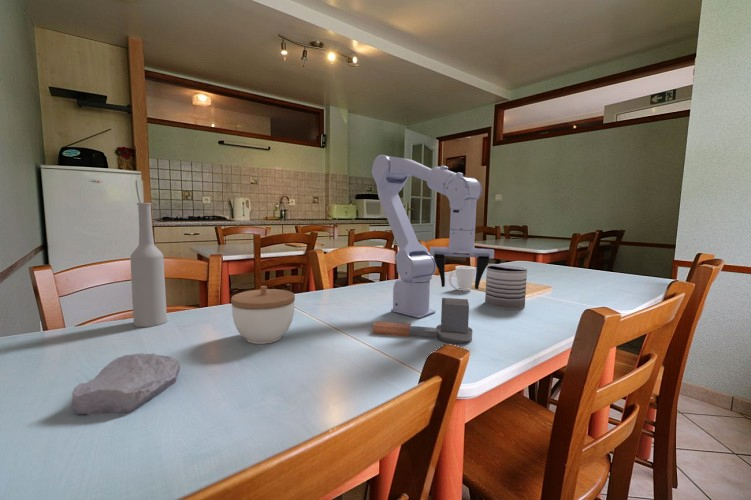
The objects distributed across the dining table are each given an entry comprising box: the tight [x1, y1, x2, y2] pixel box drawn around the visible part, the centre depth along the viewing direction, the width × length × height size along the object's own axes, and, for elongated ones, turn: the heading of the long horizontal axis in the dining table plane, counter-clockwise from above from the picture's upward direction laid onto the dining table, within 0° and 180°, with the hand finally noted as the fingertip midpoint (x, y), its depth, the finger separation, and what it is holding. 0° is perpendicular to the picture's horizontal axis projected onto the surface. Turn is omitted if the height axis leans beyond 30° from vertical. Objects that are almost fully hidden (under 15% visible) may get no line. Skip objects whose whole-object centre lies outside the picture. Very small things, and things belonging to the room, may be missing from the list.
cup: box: [448, 265, 476, 292], centre depth 123 cm, size 7×10×8 cm
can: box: [484, 263, 528, 310], centre depth 104 cm, size 11×11×12 cm
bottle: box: [129, 202, 168, 328], centre depth 81 cm, size 7×7×28 cm
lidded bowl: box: [230, 285, 296, 345], centre depth 73 cm, size 13×13×11 cm
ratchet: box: [372, 320, 473, 345], centre depth 76 cm, size 21×8×4 cm, turn 78°
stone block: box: [70, 352, 181, 416], centre depth 51 cm, size 12×5×10 cm
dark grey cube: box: [440, 297, 470, 334], centre depth 75 cm, size 6×6×6 cm
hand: (459, 287), depth 83 cm, fingers open, 7 cm apart
